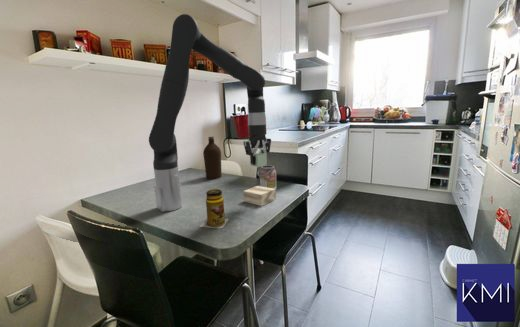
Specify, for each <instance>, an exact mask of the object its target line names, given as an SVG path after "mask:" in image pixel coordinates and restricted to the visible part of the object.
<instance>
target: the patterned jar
mask: <svg viewBox="0 0 520 327" xmlns="http://www.w3.org/2000/svg"><path fill="white" fill-rule="evenodd" d="M256 175H257V176H258V177H259V186H263V187H268V188H273V189H276V190H277V171H276V169H275V165H271V164H270V165H268V164H267V165H265V166H260V169H258V170H257V173H256Z"/></svg>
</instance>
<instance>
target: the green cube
mask: <svg viewBox="0 0 520 327" xmlns="http://www.w3.org/2000/svg"><path fill="white" fill-rule="evenodd" d="M267 154H268V153H267ZM267 154H266V153H261V152H259V151H258V152H256V155H255V157H256V165H252V164H251V160H249V162H250V164H249V165H250V166H252V167H257V168H261V167H262V166H265V165H268V162H267V160H268V159H267V158H268V156H267Z"/></svg>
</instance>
